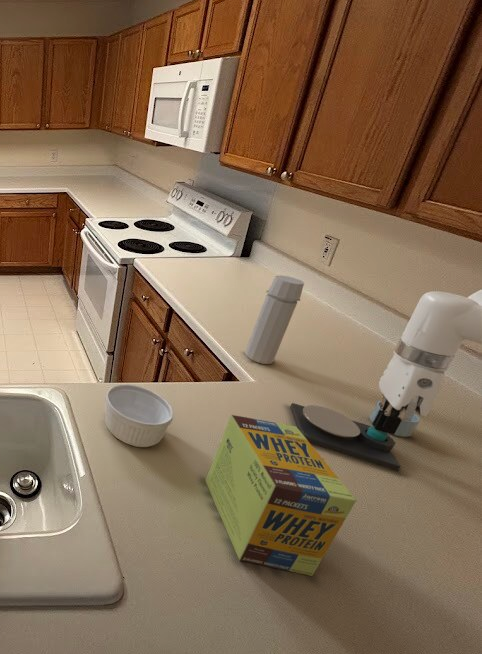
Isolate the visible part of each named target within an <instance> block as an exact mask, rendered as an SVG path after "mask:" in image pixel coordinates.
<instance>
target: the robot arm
mask: <svg viewBox="0 0 482 654" xmlns="http://www.w3.org/2000/svg"><path fill="white" fill-rule="evenodd" d="M464 341H470V342H473V343H476V344H479V345H482V288H481V289H480V290H477V291H476V292H474V293H472V294H471V295H469V296H468V297H466V296H463V295H460V294H456V293H453V292H452V293H451V292H447V291H439V290H438V291H435V290H433V291H427V292H426V293H424V294H423V295H421V297H420V299H419V301H418V303H417V304H416V307H415V308H414V310H413V313H411V316H410V318H409V320H408V322H407V324H406V326H405V328H404V331H403V332H402V335H400V339H399V340H398V342H397V344H396V347H395V348H394V350H393V352H392V354H393V356H392V358H391V359H390V361H389V362H388V364H387V366H386V368H385V369H384V371H383V373H382V375H381V376H380V377H381V378H380V379H379V382H378V388H379V390H380V392H381V394H382V396H383V397H382V400H381V401H382V402H381V405H380V409H381V410H379V411H378V413H377V415H376V417H375V419H374V421H373V423H372V422H371V423H372V425H371V426H374V428H375V429H376V430H379V431H382V432H386V433H387V434H388V435H392V434H395V432H396V430H397V428H398V427H399V425H400V423H401V421H402V420H406V421H411V420H412V418H413V415H414V413H415V412H416V413H417V415H418V416H419V417H422V418H426V417H427V416H428V415H429V414H430V412H431V410H432V408H433V406H434V405H435V402H436V399H437V398H438V395H439V393H440V390H441V388H442V386H443V385H442V384H443V382H444V379H445V374H446V371H447V370H448V369H449V367H450V366H451V364H452V362H453V360H454V358H455V356H456V355H457V353H458V352H459V349H460V347H461V346H462V345H463V342H464ZM401 410H402V411H401Z"/></svg>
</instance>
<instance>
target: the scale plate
mask: <svg viewBox="0 0 482 654" xmlns="http://www.w3.org/2000/svg"><path fill="white" fill-rule="evenodd" d="M303 414H304V416H305V417H306V418H307V419H308V420H309V421H310V422H311V423H312V424H314V425H315V426H317V427H319V428H320V429H322V430H324V431H327V432H329V433H331V434H334V435H337V436H341V437H346V438H355V437H358V436H359V435H360V429H359V427H358V426H357V425H356V424H355V423H354V422H353V421H354V420H352V419H351V418H349V417H347V416H345V415H344V414H342V413H340V412H338V411H336V410H333V409H330V408H327V407H325V406H320V405H313V404H312V405H311V404H310V405H305V407H304V408H303ZM351 420H352V421H351Z"/></svg>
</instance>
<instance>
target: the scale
mask: <svg viewBox="0 0 482 654" xmlns="http://www.w3.org/2000/svg"><path fill="white" fill-rule="evenodd" d="M305 406H306V405H305ZM305 406H304V405H301V404H298V403H294V402H291V404H290V406H289V408H290V409H289V410H290V411H291V414H292V417H293V420H294V423H295V426H296V427H297V428H298V429H299V431H300V432H301V433H302V434H303V435H304V437H305V438H306V439H307V440H308V442H309V443H310V444H311V445H314V446H317V447H320V448H323V449H325V450H330V451H333V452H336V453H339V454H342V455H345V456H347V457H352V458H353V459H358V460H360V461H364V462H367V463H370V464H373V465H376V466H380V467H382V468H385V469H389V470H392V471H395V472H399V470H400V468H401V465H400V463H399V462H398V460H397V458H396V457H395V455H394V453H393V452H392V450H393V449H394V447H395V445H396V441H395V440H394V438H392V437H391V436H390V434H388V436H387V438H386V440H385V441H384V442H382V441H379V440H376V439H374V438H372V437H370V436H369V435H368V434H367V431H368V429H369V427H370V426H371V425H369V424H367V423H362V422H358V421H356V420H352V419H350V420H351V421H353V422H354V423H355V424H356V425H357V426H358V427H359V429H360V435H359V436H358V437H355V438H346V437H341V436H337V435H334V434H331V433H329V432H327V431H324V430H322V429H320V428H319V427H317V426H315V425H314V424H312V423H311V422H310V421H309V420H308V419H307V418H306V417H305V416H304V414H303V408H304V407H305Z"/></svg>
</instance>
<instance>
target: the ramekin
mask: <svg viewBox="0 0 482 654" xmlns="http://www.w3.org/2000/svg"><path fill="white" fill-rule="evenodd" d="M104 401H105V408H104V421H105V425H106V428H108V430H109V432H110V433H111V434H112V435H113V436H114V437H115V438H116V439H118V440H119V441H121V442H122V443H125V444H127V445H128V446H129V445H130V446H133V447H136V448H149V447H153V446H155V445H157V444H159V443H160V442H161V440H162V439H163V438H164V436H165V434H166V432H167V430H168V428H169V427H170V425H171V424H172V423H173V422H172V421H173V419H174V411H173V407H172V405H171V404H170V403H169V402H168V401H167V400H166V399H165V398H164V397H163V396H161V395H160V394H158V393H157V392H155V391H153V390H152V389H149V388H146V387H144V386H140V385H136V384H130V383H121V384H116V385H113V386H112V387H110V388H108V390H107V392H106V395H105V400H104Z"/></svg>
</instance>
